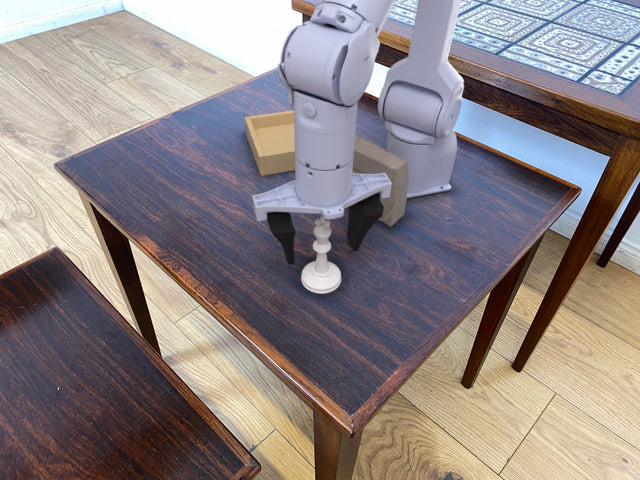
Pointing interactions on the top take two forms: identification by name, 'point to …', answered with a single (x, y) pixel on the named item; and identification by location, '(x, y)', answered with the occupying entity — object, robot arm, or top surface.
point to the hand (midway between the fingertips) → (321, 251)
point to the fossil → (396, 169)
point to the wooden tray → (272, 141)
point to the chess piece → (321, 263)
